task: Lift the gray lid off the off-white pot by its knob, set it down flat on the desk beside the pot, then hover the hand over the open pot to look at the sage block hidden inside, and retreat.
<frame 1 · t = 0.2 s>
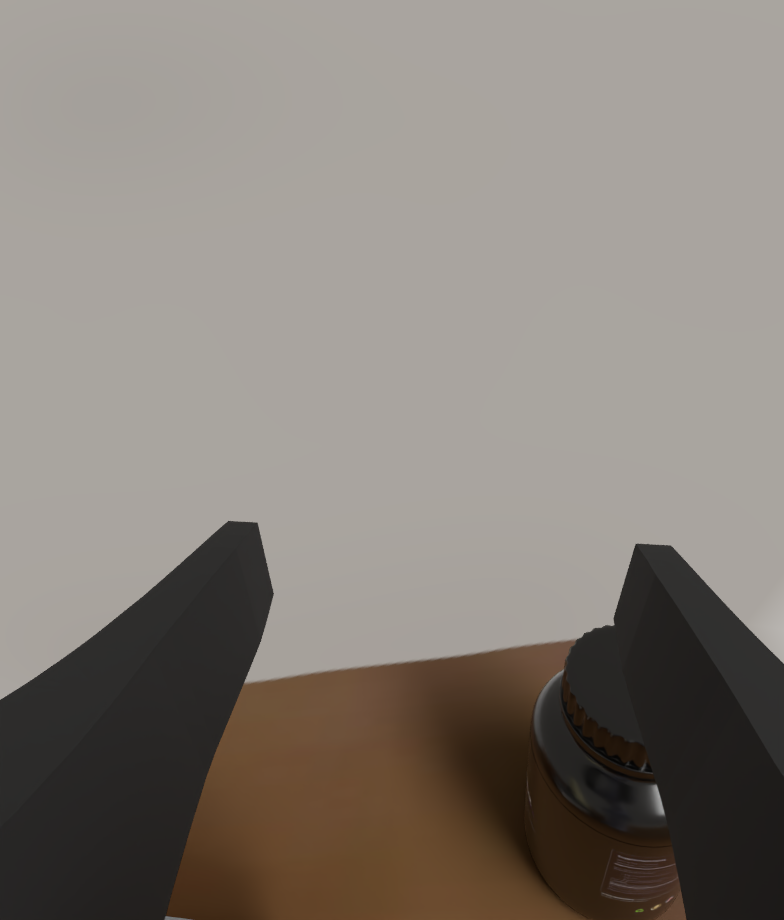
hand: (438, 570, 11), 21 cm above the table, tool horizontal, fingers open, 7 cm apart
supplement bottle: (598, 842, 25), on the table
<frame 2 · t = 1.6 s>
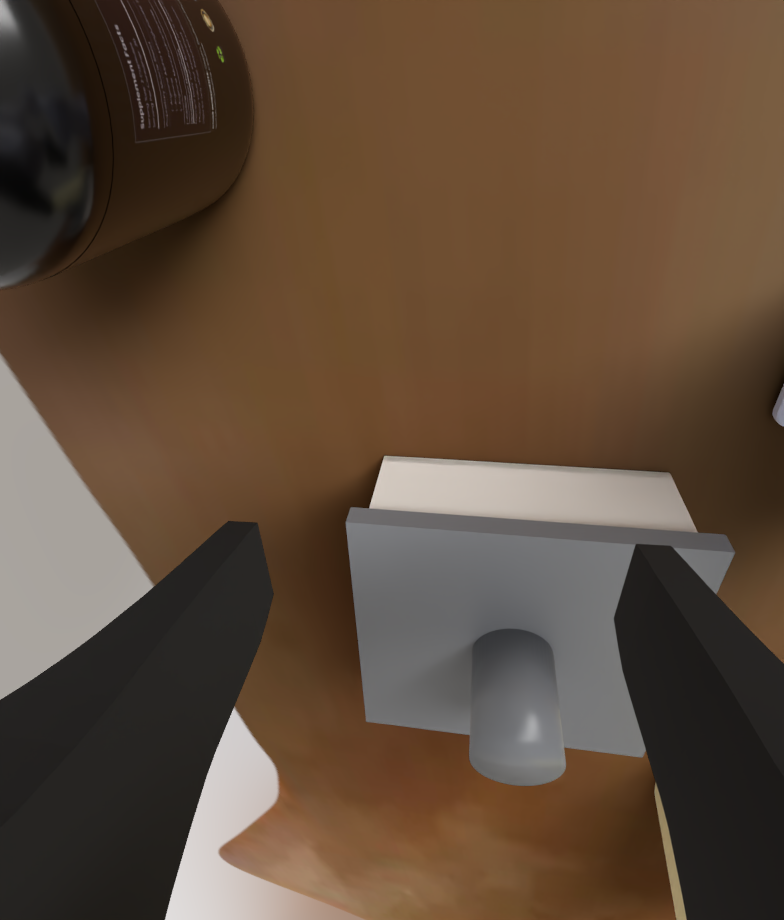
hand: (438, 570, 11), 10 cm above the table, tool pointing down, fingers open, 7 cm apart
cone light: (780, 811, 33), on the table
off-white pot: (508, 563, 24), on the table
gray lid: (511, 637, 21), point 4 cm above the table, touching off-white pot
supplement bottle: (154, 90, 16), on the table
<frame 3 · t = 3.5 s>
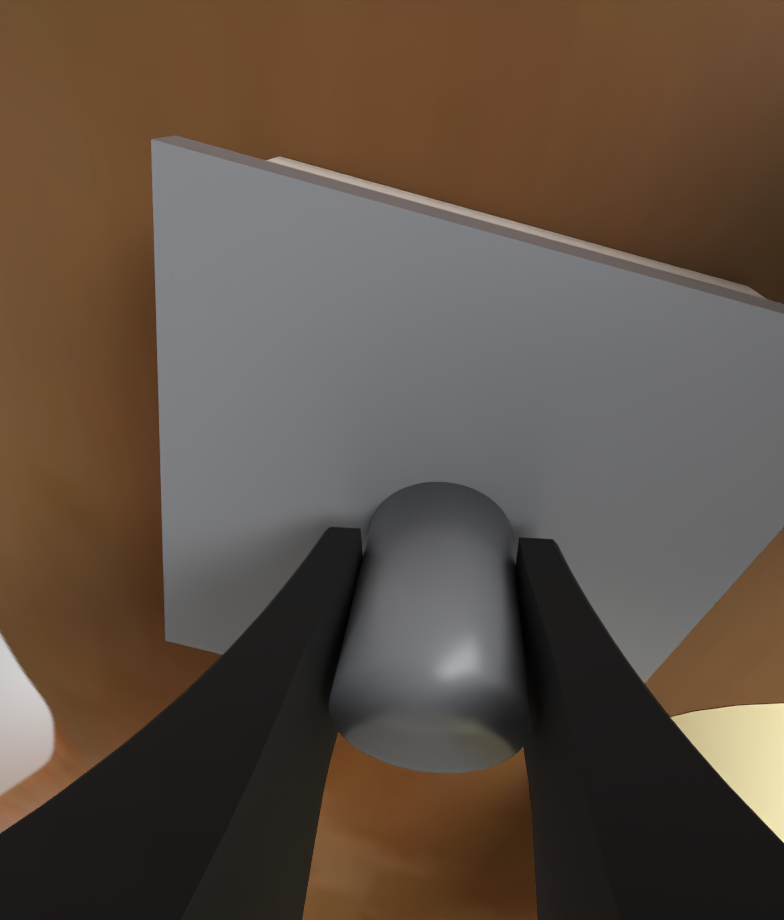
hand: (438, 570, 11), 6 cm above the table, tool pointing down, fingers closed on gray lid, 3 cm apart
cone light: (685, 829, 27), on the table
off-white pot: (447, 424, 15), on the table
gray lid: (441, 514, 12), point 4 cm above the table, touching gripper, off-white pot
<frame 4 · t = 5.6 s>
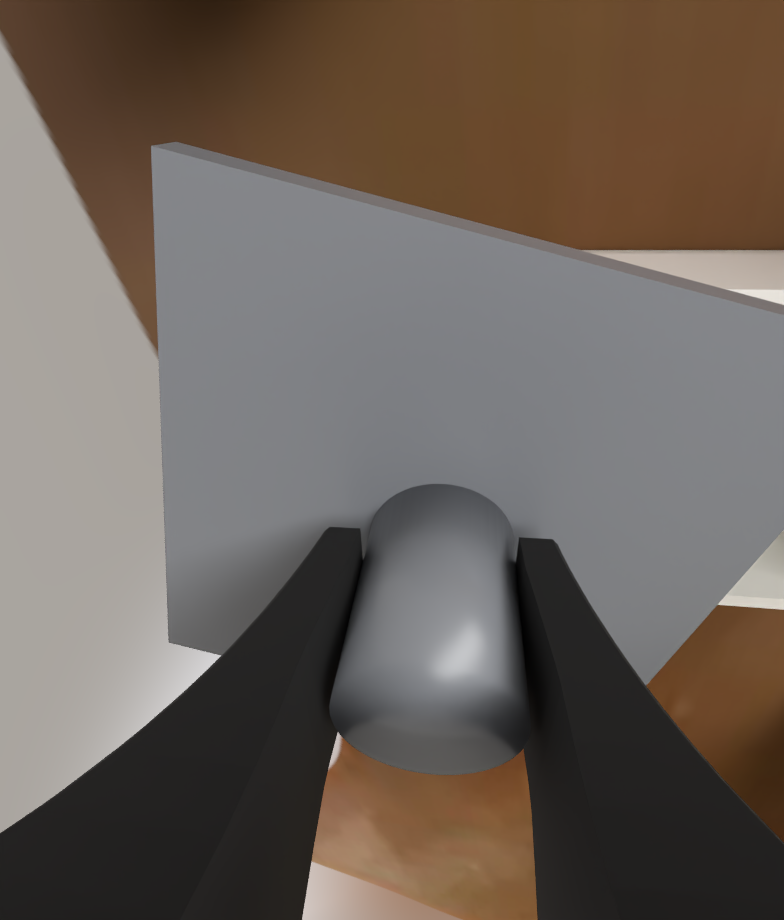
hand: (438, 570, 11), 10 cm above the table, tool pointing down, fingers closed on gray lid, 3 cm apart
off-white pot: (689, 411, 19), on the table
gray lid: (442, 516, 12), point 9 cm above the table, touching gripper
when the fingers open (3 cm above the table, at t = 7.8 s): gray lid drops 2 cm, on the table.
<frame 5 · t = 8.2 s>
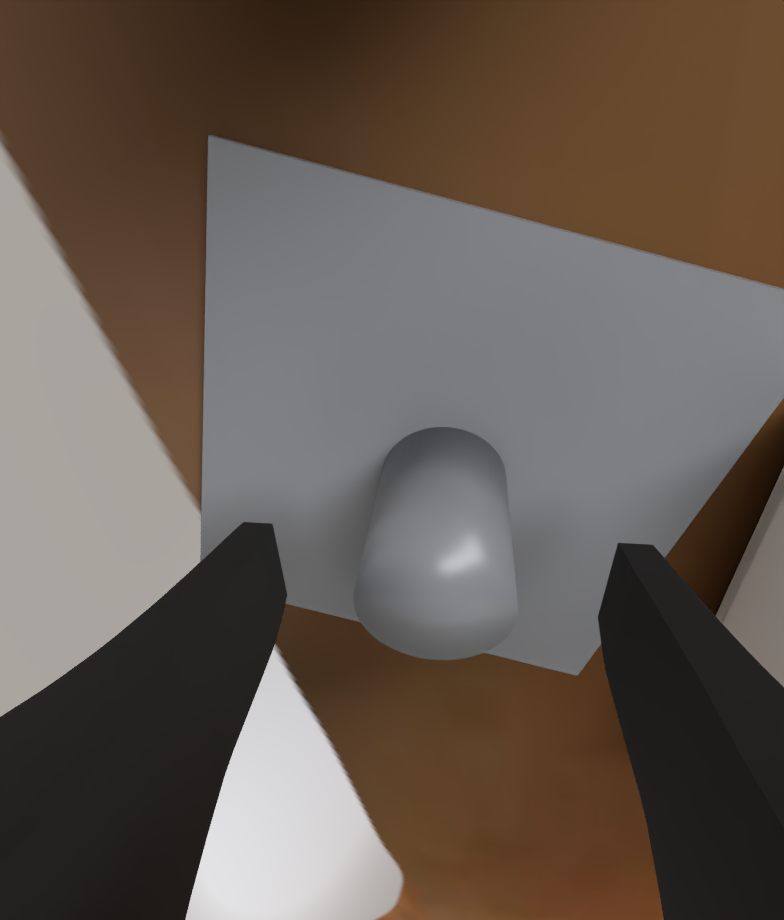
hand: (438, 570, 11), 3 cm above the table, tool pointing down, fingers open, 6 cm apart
gray lid: (444, 461, 14), on the table
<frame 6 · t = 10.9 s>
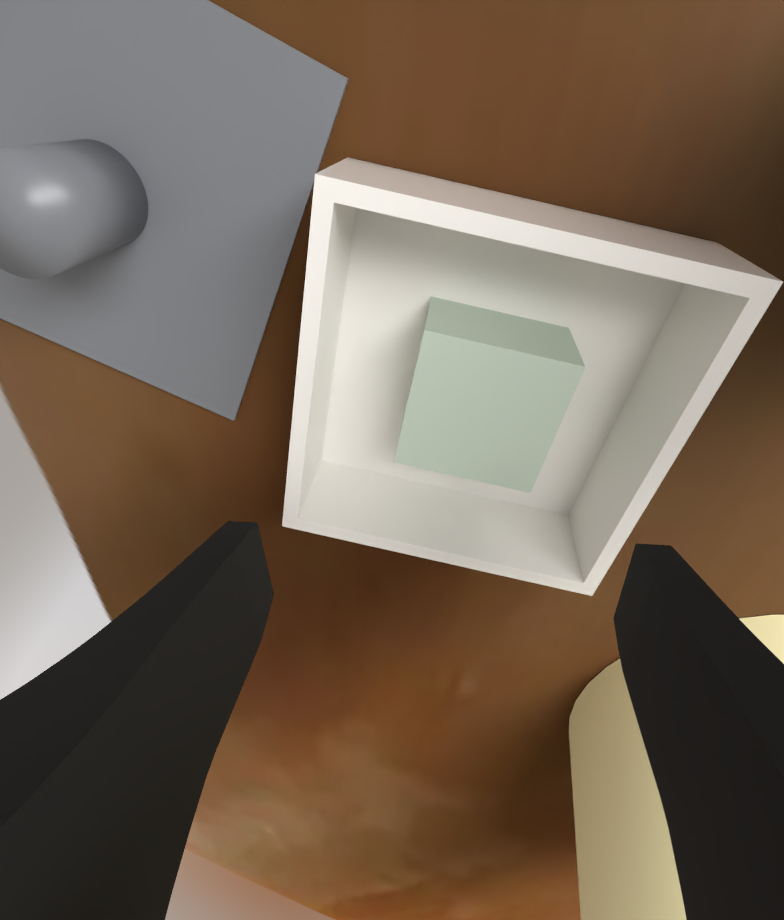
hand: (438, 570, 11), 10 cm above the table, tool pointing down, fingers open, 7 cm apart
sage block: (480, 374, 18), resting on off-white pot
cone light: (695, 747, 30), on the table
off-white pot: (480, 370, 19), on the table
gray lid: (115, 191, 17), on the table
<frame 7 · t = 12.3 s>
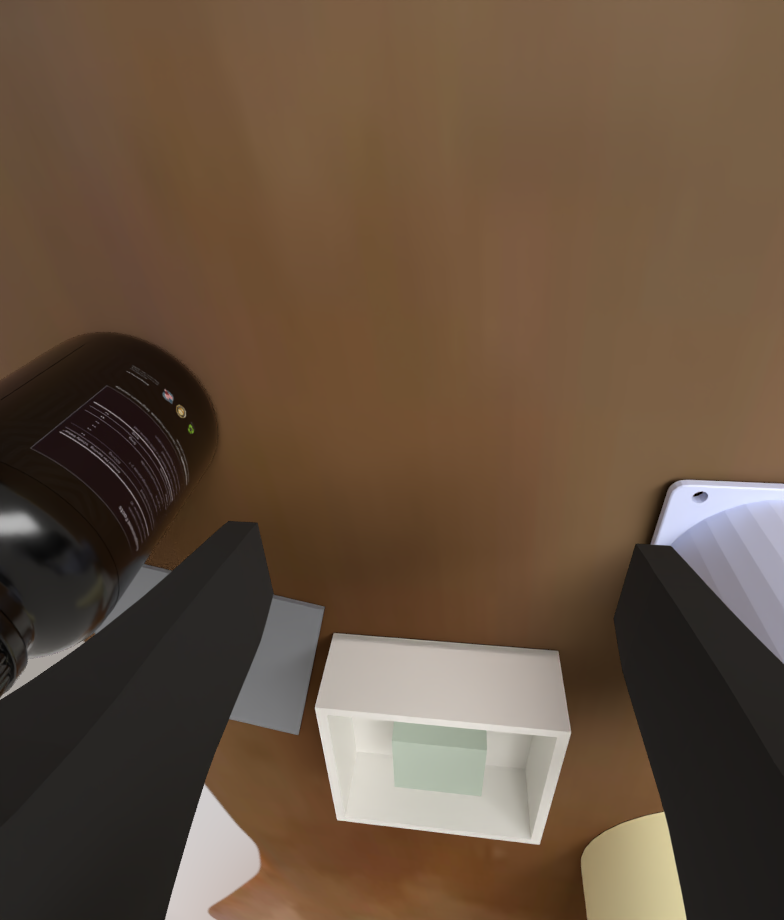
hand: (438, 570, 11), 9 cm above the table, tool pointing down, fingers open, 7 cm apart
sage block: (440, 712, 29), resting on off-white pot
cone light: (687, 880, 38), on the table
off-white pot: (441, 705, 29), on the table
gray lid: (208, 642, 30), on the table
supplement bottle: (142, 408, 21), on the table
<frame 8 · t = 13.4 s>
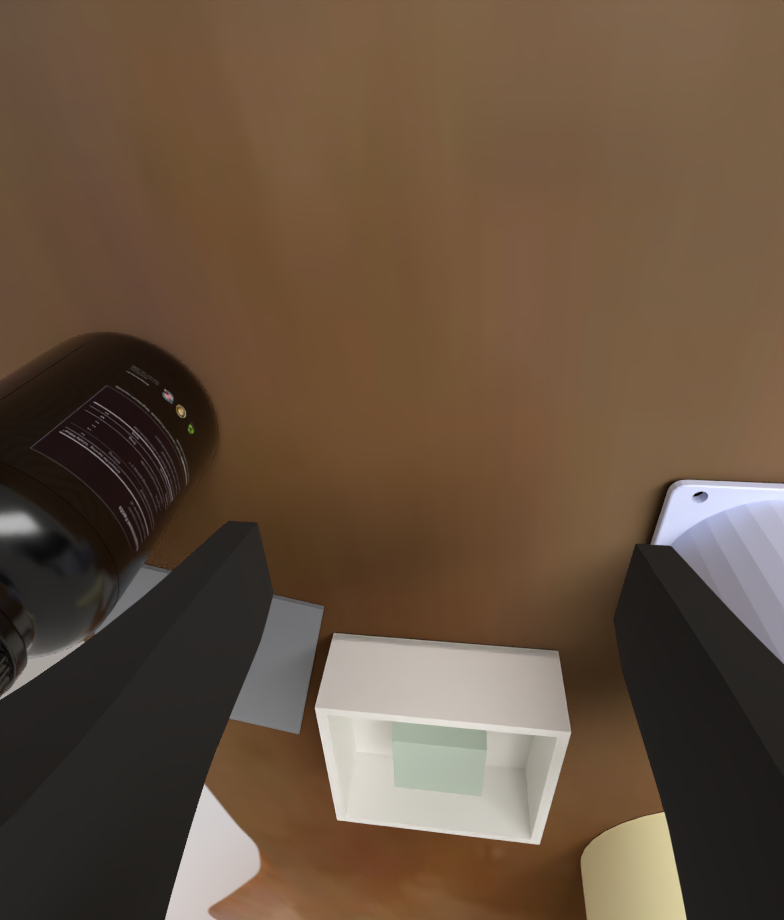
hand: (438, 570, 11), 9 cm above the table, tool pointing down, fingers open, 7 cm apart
sage block: (440, 712, 29), resting on off-white pot
cone light: (687, 881, 38), on the table
off-white pot: (441, 705, 29), on the table
gray lid: (208, 642, 30), on the table
supplement bottle: (142, 408, 21), on the table
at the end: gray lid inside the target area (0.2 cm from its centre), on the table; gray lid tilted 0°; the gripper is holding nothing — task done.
